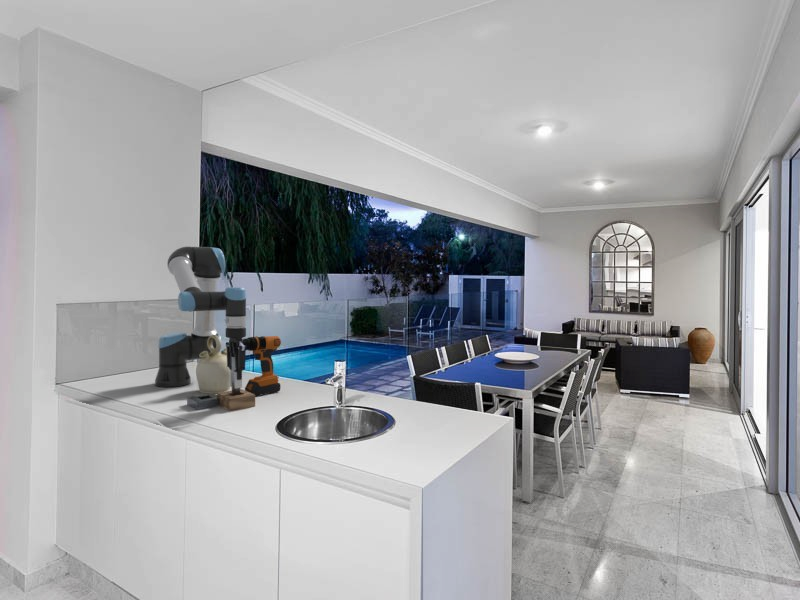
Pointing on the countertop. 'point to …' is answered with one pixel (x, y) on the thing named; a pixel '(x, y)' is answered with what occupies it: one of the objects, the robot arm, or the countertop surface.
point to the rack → (236, 400)
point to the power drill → (263, 364)
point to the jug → (213, 369)
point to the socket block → (203, 401)
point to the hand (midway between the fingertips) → (236, 386)
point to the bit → (237, 390)
